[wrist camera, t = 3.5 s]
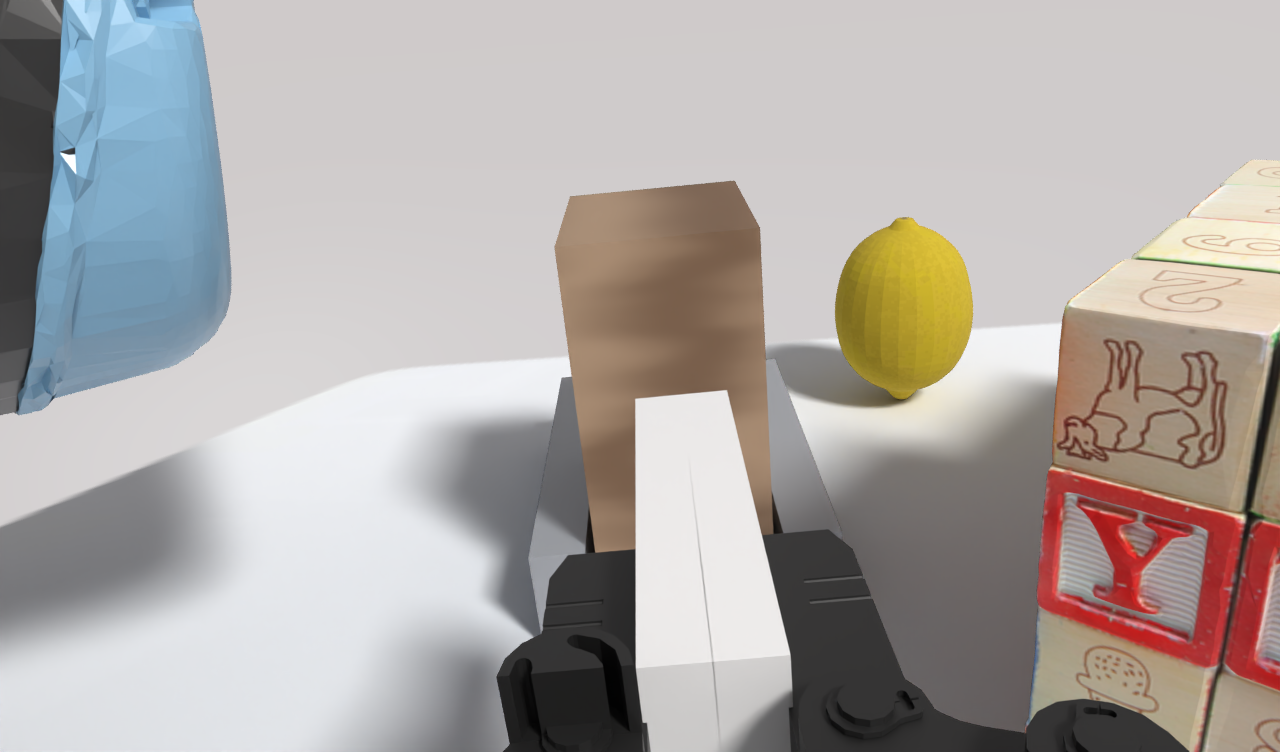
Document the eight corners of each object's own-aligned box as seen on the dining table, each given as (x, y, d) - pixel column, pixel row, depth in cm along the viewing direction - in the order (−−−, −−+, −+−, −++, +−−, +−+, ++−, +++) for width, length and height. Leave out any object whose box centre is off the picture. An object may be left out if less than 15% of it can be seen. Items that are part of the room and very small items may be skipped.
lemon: (810, 402, 40) (805, 224, 37) (887, 364, 43) (889, 196, 40) (917, 439, 36) (923, 243, 33) (994, 394, 39) (1005, 210, 36)
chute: (542, 643, 27) (527, 558, 26) (570, 442, 39) (561, 377, 38) (842, 619, 27) (841, 531, 25) (777, 424, 39) (775, 358, 37)
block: (603, 616, 26) (554, 247, 22) (608, 508, 32) (570, 196, 28) (776, 602, 26) (759, 227, 22) (751, 496, 32) (734, 180, 28)
